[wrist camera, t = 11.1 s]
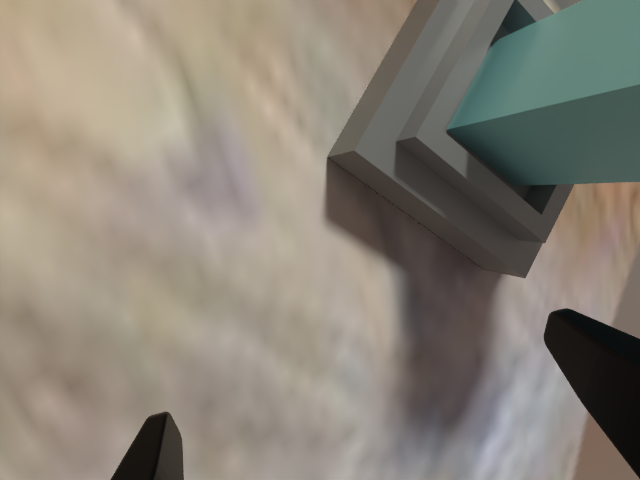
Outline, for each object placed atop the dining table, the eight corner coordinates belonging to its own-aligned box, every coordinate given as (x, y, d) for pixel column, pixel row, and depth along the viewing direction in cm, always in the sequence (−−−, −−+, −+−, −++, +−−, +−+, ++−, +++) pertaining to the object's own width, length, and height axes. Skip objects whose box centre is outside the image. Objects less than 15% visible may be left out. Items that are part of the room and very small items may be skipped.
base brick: (483, 269, 25) (549, 283, 21) (327, 156, 21) (370, 146, 16) (568, 103, 26) (646, 85, 22) (438, -36, 22) (504, -91, 18)
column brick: (513, 185, 21) (904, 172, 10) (446, 129, 19) (834, 38, 8) (554, 104, 22) (969, 6, 11) (493, 41, 20) (916, -154, 9)
